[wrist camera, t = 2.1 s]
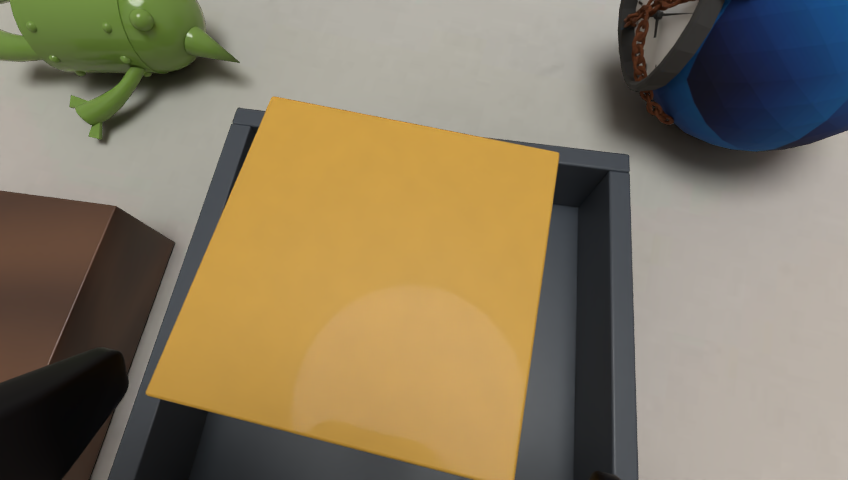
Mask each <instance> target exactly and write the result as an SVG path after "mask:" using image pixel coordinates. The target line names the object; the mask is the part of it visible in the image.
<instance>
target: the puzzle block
mask: <svg viewBox="0 0 848 480" xmlns="http://www.w3.org/2000/svg"><path fill="white" fill-rule="evenodd" d="M558 163H559V153H558V152H554V151H549V150H544V149H539V148H534V147H529V146H524V145H519V144H514V143H509V142H503V141H498V140H493V139H488V138H483V137H478V136H473V135H468V134H463V133H458V132H453V131H447V130H442V129H437V128H432V127H427V126H422V125H417V124H412V123H407V122H402V121H396V120H391V119H386V118H381V117H376V116H371V115H366V114H361V113H356V112H351V111H346V110H340V109H335V108H330V107H325V106H320V105H315V104H310V103H305V102H300V101H295V100H290V99H284V98H279V97H272V98H271V100H270V102H269V105H268V107H267V109H266V112H265V114H264V116H263V119H262V121H261V123H260V126H259V128H258V130H257V133H256V135H255V137H254V140H253V142H252V144H251V147H250V149H249V151H248V154H247V156H246V159H245V161H244V163H243V166H242V168H241V170H240V173H239V175H238V177H237V180H236V182H235V184H234V187H233V189H232V191H231V194H230V196H229V198H228V201H227V203H226V205H225V208H224V210H223V212H222V215H221V217H220V219H219V222H218V224H217V226H216V229H215V231H214V233H213V236H212V238H211V240H210V243H209V245H208V247H207V250H206V252H205V254H204V257H203V259H202V261H201V264H200V266H199V268H198V271H197V273H196V275H195V278H194V280H193V282H192V285H191V287H190V289H189V292H188V294H187V297H186V299H185V301H184V304H183V306H182V308H181V311H180V313H179V315H178V318H177V320H176V322H175V325H174V327H173V329H172V332H171V334H170V336H169V339H168V341H167V343H166V346H165V348H164V350H163V353H162V355H161V357H160V360H159V362H158V364H157V367H156V369H155V371H154V374H153V376H152V378H151V381H150V383H149V385H148V388H147V390H146V395H147V396H150V397H154V398H158V399H162V400H166V401H169V402H173V403H177V404H181V405H185V406H189V407H193V408H197V409H201V410H204V411H208V412H212V413H216V414H220V415H224V416H228V417H232V418H236V419H239V420H243V421H247V422H251V423H255V424H259V425H263V426H267V427H271V428H274V429H278V430H282V431H286V432H290V433H294V434H298V435H302V436H306V437H309V438H313V439H317V440H321V441H325V442H329V443H333V444H337V445H341V446H344V447H348V448H352V449H356V450H360V451H364V452H368V453H372V454H376V455H379V456H383V457H387V458H391V459H395V460H399V461H403V462H407V463H411V464H414V465H418V466H422V467H426V468H430V469H434V470H438V471H442V472H445V473H449V474H453V475H457V476H461V477H465V478H469V479H473V480H515V473H516V465H517V458H518V451H519V444H520V437H521V429H522V422H523V415H524V408H525V401H526V393H527V386H528V379H529V372H530V364H531V357H532V350H533V343H534V336H535V328H536V321H537V314H538V307H539V300H540V292H541V285H542V278H543V271H544V264H545V256H546V249H547V242H548V235H549V227H550V220H551V213H552V206H553V199H554V191H555V184H556V177H557V170H558Z"/></svg>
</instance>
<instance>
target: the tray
mask: <svg viewBox="0 0 848 480" xmlns="http://www.w3.org/2000/svg"><path fill="white" fill-rule="evenodd" d="M265 112H266V111H260V110H252V109H244V108H238V109H237V111H236V114H235V116H234V119H233V124H231V127H230V130H229V132H228V135H227V138H226V141H225V144H224V147H223V150H222V153H221V155H220V158H219V161H218V164H217V167H216V170H215V173H214V176H213V178H212V181H211V184H210V187H209V190H208V193H207V196H206V198H205V201H204V204H203V207H202V210H201V213H200V216H199V219H198V221H197V224H196V227H195V230H194V233H193V236H192V239H191V242H190V244H189V247H188V250H187V253H186V256H185V259H184V262H183V265H182V267H181V270H180V273H179V276H178V279H177V282H176V285H175V288H174V290H173V293H172V296H171V299H170V302H169V305H168V308H167V311H166V313H165V316H164V319H163V322H162V325H161V328H160V331H159V334H158V336H157V339H156V342H155V345H154V348H153V351H152V354H151V357H150V359H149V362H148V365H147V368H146V371H145V374H144V377H143V380H142V382H141V385H140V388H139V391H138V394H137V397H136V400H135V403H134V405H133V408H132V411H131V414H130V417H129V420H128V423H127V425H126V428H125V431H124V434H123V437H122V440H121V443H120V446H119V448H118V451H117V454H116V457H115V460H114V463H113V466H112V469H111V471H110V474H109V477H108V480H473V479H469V478H465V477H461V476H457V475H453V474H449V473H445V472H442V471H438V470H434V469H430V468H426V467H422V466H418V465H414V464H411V463H407V462H403V461H399V460H395V459H391V458H387V457H383V456H379V455H376V454H372V453H368V452H364V451H360V450H356V449H352V448H348V447H344V446H341V445H337V444H333V443H329V442H325V441H321V440H317V439H313V438H309V437H306V436H302V435H298V434H294V433H290V432H286V431H282V430H278V429H274V428H271V427H267V426H263V425H259V424H255V423H251V422H247V421H243V420H239V419H236V418H232V417H228V416H224V415H220V414H216V413H212V412H208V411H204V410H201V409H197V408H193V407H189V406H185V405H181V404H177V403H173V402H169V401H166V400H162V399H158V398H154V397H150V396H147V395H146V390H147V388H148V385H149V383H150V381H151V378H152V376H153V374H154V371H155V369H156V367H157V364H158V362H159V360H160V357H161V355H162V353H163V350H164V348H165V346H166V343H167V341H168V339H169V336H170V334H171V332H172V329H173V327H174V325H175V322H176V320H177V318H178V315H179V313H180V311H181V308H182V306H183V304H184V301H185V299H186V297H187V294H188V292H189V289H190V287H191V285H192V282H193V280H194V278H195V275H196V273H197V271H198V268H199V266H200V264H201V261H202V259H203V257H204V254H205V252H206V250H207V247H208V245H209V243H210V240H211V238H212V236H213V233H214V231H215V229H216V226H217V224H218V222H219V219H220V217H221V215H222V212H223V210H224V208H225V205H226V203H227V201H228V198H229V196H230V194H231V191H232V189H233V187H234V184H235V182H236V180H237V177H238V175H239V173H240V170H241V168H242V166H243V163H244V161H245V159H246V156H247V154H248V151H249V149H250V147H251V144H252V142H253V140H254V137H255V135H256V133H257V130H258V128H259V126H260V123H261V121H262V119H263V116H264V114H265ZM483 138H485V137H483ZM488 139H493V138H488ZM493 140H498V141H503V142H509V143H514V144H519V145H524V146H529V147H534V148H539V149H544V150H549V151H554V152H558V153H559V163H558V170H557V177H556V184H555V191H554V199H553V206H552V213H551V220H550V227H549V235H548V242H547V249H546V256H545V264H544V271H543V278H542V285H541V292H540V300H539V307H538V314H537V321H536V328H535V336H534V343H533V350H532V357H531V364H530V372H529V379H528V386H527V393H526V401H525V408H524V415H523V422H522V429H521V437H520V444H519V451H518V458H517V465H516V473H515V480H588V479H589V477H590V475H591V474H592V472H594V471H602V472H606V473H610V474H614V475H616V476H618V477H619V478H620V479H621V480H638V447H637V412H636V378H635V344H634V310H633V275H632V241H631V207H630V175H629V171H630V169H629V155H626V154H618V153H610V152H601V151H593V150H585V149H576V148H568V147H560V146H551V145H543V144H535V143H526V142H518V141H510V140H501V139H493Z"/></svg>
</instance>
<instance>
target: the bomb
mask: <svg viewBox="0 0 848 480" xmlns="http://www.w3.org/2000/svg"><path fill="white" fill-rule="evenodd" d="M618 42H619V54H620V61H621V68H622V72H623V76H624V80H625V81H626V83H627V85H628V87H629V88H630V90H634V91H640V96H641V97H642V99H644V100H645V101H647V106H646V109H647V111H648V112H649V113H650V114H652V115H655V116H656V117H657V118H658V119H659V121H660V122H662V123H664V124H667V125H670V124H673V123H674V124H675V125H677V126H678V127H679V128H680V129H681V130H683V131H684V132H685V133H687V134H689V135H691V136H694V137H696V138H698V139H700V140H703V141H705V142H707V143H710V144H713V145H716V146H720V147H724V148H728V149H732V150H744V151H755V152H758V151H771V150H784V149H788V148H793V147H797V146H802V145H807V144H810V143H813V142H816V141H819V140H822V139H825V138H827V137H830V136H833V135H836V134H839V133H842V132H844V131H847V130H848V0H621V4H620V8H619V21H618ZM648 92H649V93H650V95H649V94H648ZM643 93H646V94H645V95H644V94H643ZM652 99H654V101H655V102H651V100H652ZM652 106H656V107H655V109H654V111H652V110H653V107H652ZM666 118H668V119H669V121H666Z"/></svg>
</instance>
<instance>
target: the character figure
mask: <svg viewBox="0 0 848 480" xmlns="http://www.w3.org/2000/svg"><path fill="white" fill-rule="evenodd" d="M7 2H10V4H11V8H12V12H13V16H14V18H15V21H16V23H17V25H18V28H19V30H20V31H21V33H22V35H17V34H12V33H9V32H6V31H3V30H0V61H14V62H25V61H37V60H44V61H45V62H46V63H48V64H49V65H51V66H52V67H54V68H56V69H58V70H61V71H64V72H71V73H75V74H76V75H78V76H85V75H86V73H126V74H125V75H124V77H123V78H122V80H121V81H120V82H119V83H118V84H117V85H116V86H115V87H114V88H112V89H111V90H109V91H108V92H106V93H104V94H102V95H101V96H99V97H96V98H94V99H92V100H90V101H86V100H83V99H81V98H78V97H75V96H72V95H71V99H70V108H75V110H76V112H77V113H78V115H79V116H80V117H81V118H82V119H83V120H84V121H86V122H87V123H89V124H90V125H92V127H91V130H90V133H89V137H93V138H97V139H101V140H102V124H103V122H104V121H106V120H108V119H110V118H111V117H112V116H113V115H114V114H115V113H116V112H117V111H119V110H120V109H121V108H122V106H123V105H124V104H125V103H126V101H127V100H128V99H129V97H130V96H131V95H132V93H133V91H134V90H135V88H136V87H137V85H138V84H139V82H140V80H141V79H142V77H143V76H145V77H150V76H151V74H165V73H168V72H173V71H176V70H180V69H183V68H185V67H186V66H188V65H190V64H191V63H192V62H194V61H195V60H196V58H197V57H205V58H211V59H218V60H224V61H231V62H237V63H240V62H239V61H238V60H236V59H235V58H234V57H233V56H232V55H231V54H230V53H228V52H227V51H226V50H225V49H224V48H223V47H221V46H220V45H219V44H218V43H217V42H216V41H215V40H213V39H212V38H211V37H210V36H209V35H208V34H207V33H206V23H205V19H204V15H203V12H202V10H201V7H200V5H199V3H198V1H197V0H0V4H4V3H7Z"/></svg>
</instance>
